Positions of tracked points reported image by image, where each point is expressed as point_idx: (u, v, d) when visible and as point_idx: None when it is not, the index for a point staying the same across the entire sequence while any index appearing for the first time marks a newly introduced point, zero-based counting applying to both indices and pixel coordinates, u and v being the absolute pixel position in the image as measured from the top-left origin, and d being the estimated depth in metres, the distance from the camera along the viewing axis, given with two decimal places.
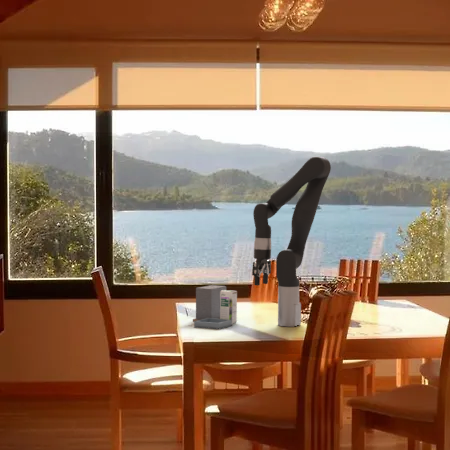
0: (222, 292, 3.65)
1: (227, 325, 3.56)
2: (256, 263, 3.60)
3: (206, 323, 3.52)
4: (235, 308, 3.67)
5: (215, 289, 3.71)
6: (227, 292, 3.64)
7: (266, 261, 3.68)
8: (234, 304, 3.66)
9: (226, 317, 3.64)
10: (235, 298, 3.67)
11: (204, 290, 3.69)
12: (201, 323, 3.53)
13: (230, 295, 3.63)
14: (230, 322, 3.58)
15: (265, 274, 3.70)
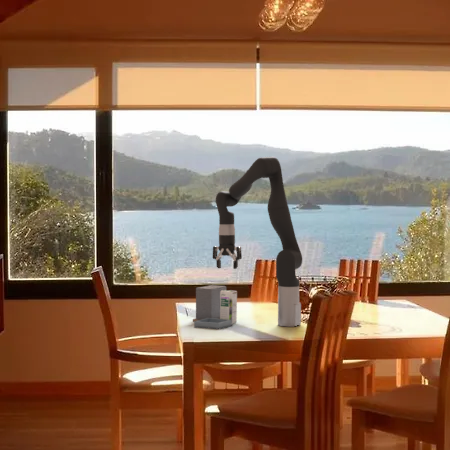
0: (222, 292, 3.65)
1: (227, 325, 3.56)
2: (240, 247, 3.86)
3: (206, 323, 3.52)
4: (235, 308, 3.67)
5: (215, 289, 3.71)
6: (227, 292, 3.64)
7: None
8: (234, 304, 3.66)
9: (226, 317, 3.64)
10: (235, 298, 3.67)
11: (204, 290, 3.69)
12: (201, 323, 3.53)
13: (230, 295, 3.63)
14: (230, 322, 3.58)
15: (219, 259, 3.90)
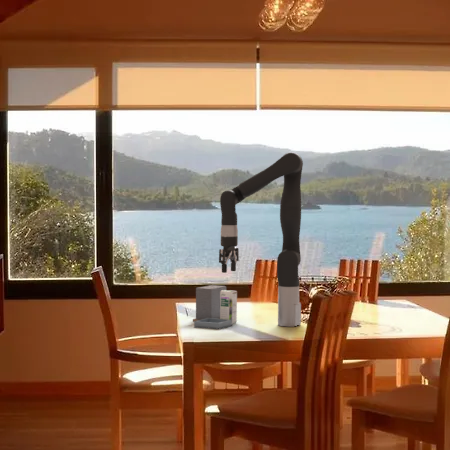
0: (222, 292, 3.65)
1: (227, 325, 3.56)
2: None
3: (206, 323, 3.52)
4: (235, 308, 3.67)
5: (215, 289, 3.71)
6: (227, 292, 3.64)
7: None
8: (234, 304, 3.66)
9: (226, 317, 3.64)
10: (235, 298, 3.67)
11: (204, 290, 3.69)
12: (201, 323, 3.53)
13: (230, 295, 3.63)
14: (230, 322, 3.58)
15: None
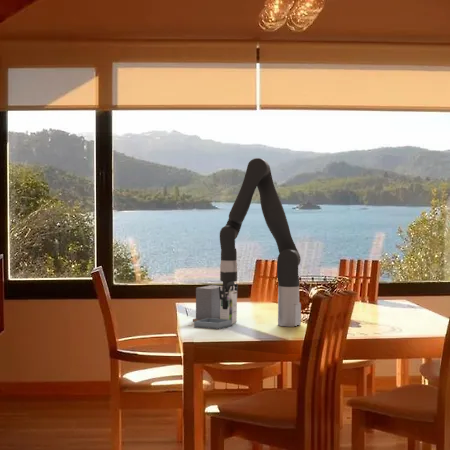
0: None
1: (227, 325, 3.56)
2: None
3: (206, 323, 3.52)
4: (235, 308, 3.67)
5: (215, 289, 3.71)
6: (227, 292, 3.64)
7: None
8: (234, 304, 3.66)
9: (226, 317, 3.64)
10: (235, 298, 3.67)
11: (204, 290, 3.69)
12: (201, 323, 3.53)
13: (230, 295, 3.63)
14: (230, 322, 3.58)
15: None
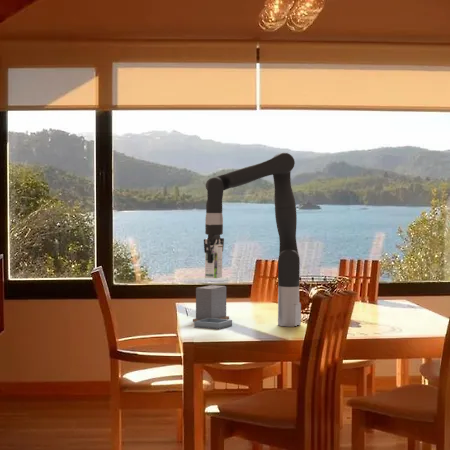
0: None
1: (227, 325, 3.56)
2: None
3: (206, 323, 3.52)
4: (220, 262, 3.56)
5: (215, 289, 3.71)
6: (212, 245, 3.54)
7: None
8: (219, 258, 3.55)
9: (211, 271, 3.54)
10: (220, 252, 3.56)
11: (204, 290, 3.69)
12: (201, 323, 3.53)
13: (216, 248, 3.53)
14: (230, 322, 3.58)
15: None
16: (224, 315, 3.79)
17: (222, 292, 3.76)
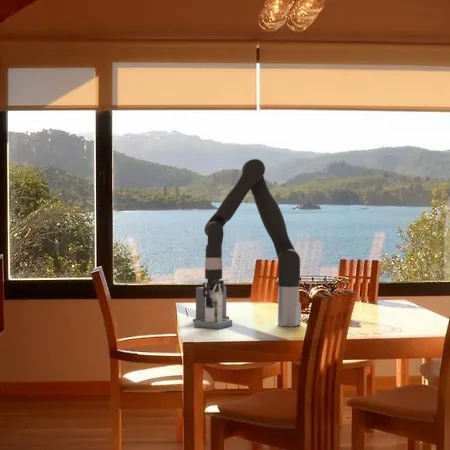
0: None
1: (227, 325, 3.56)
2: None
3: (206, 323, 3.52)
4: (220, 310, 3.57)
5: None
6: None
7: None
8: (219, 305, 3.56)
9: (211, 319, 3.54)
10: (220, 299, 3.57)
11: None
12: (201, 323, 3.53)
13: (216, 296, 3.53)
14: (230, 322, 3.58)
15: None
16: (224, 315, 3.79)
17: None
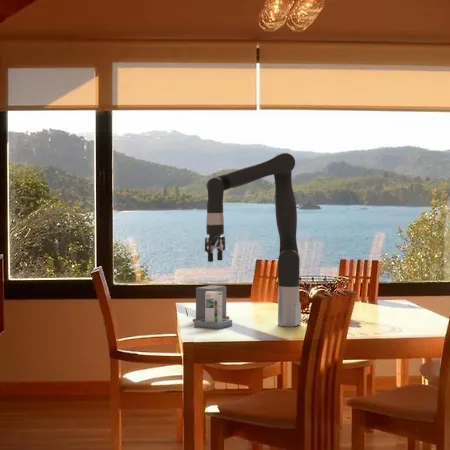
0: (207, 293, 3.55)
1: (227, 325, 3.56)
2: None
3: (206, 323, 3.52)
4: (220, 310, 3.57)
5: (215, 289, 3.71)
6: (212, 293, 3.54)
7: None
8: (219, 305, 3.56)
9: (211, 319, 3.54)
10: (220, 299, 3.57)
11: (204, 290, 3.69)
12: (201, 323, 3.53)
13: (216, 296, 3.53)
14: (230, 322, 3.58)
15: None
16: (224, 315, 3.79)
17: (222, 292, 3.76)
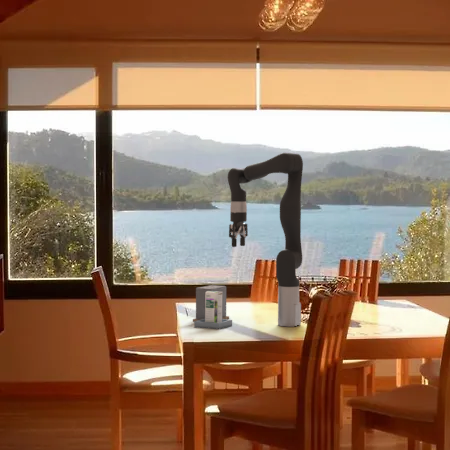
0: (207, 293, 3.55)
1: (227, 325, 3.56)
2: None
3: (206, 323, 3.52)
4: (220, 310, 3.57)
5: (215, 289, 3.71)
6: (212, 293, 3.54)
7: None
8: (219, 305, 3.56)
9: (211, 319, 3.54)
10: (220, 299, 3.57)
11: (204, 290, 3.69)
12: (201, 323, 3.53)
13: (216, 296, 3.53)
14: (230, 322, 3.58)
15: None
16: (224, 315, 3.79)
17: (222, 292, 3.76)
